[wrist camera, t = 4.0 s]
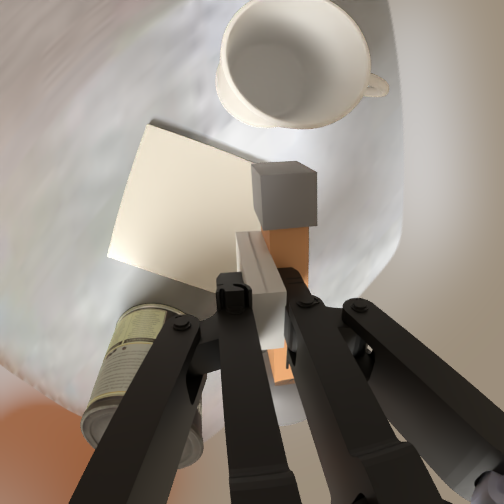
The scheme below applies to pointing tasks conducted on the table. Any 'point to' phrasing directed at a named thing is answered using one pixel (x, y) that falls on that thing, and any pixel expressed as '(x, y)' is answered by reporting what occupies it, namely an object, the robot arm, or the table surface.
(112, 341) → the coffee can
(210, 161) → the coaster
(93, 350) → the table surface
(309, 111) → the mug
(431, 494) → the robot arm
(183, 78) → the table surface
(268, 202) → the swing arm
